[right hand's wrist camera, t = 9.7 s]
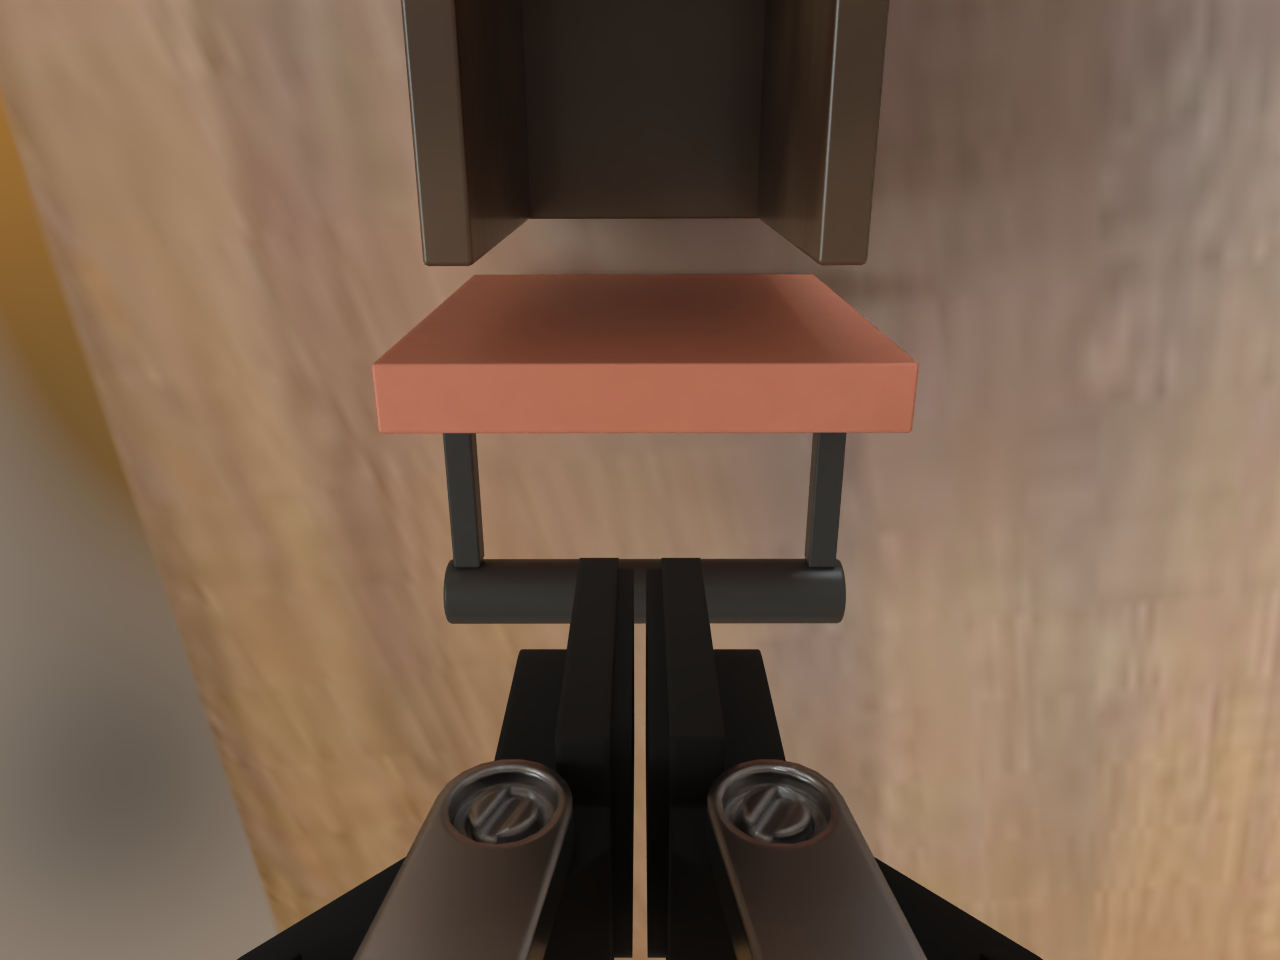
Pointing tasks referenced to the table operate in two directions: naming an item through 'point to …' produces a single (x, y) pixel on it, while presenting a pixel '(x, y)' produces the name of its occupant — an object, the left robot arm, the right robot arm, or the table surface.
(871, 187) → the drawer
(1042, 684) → the table surface
